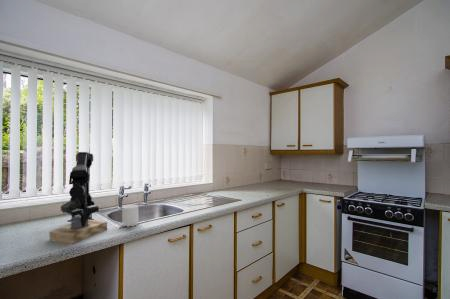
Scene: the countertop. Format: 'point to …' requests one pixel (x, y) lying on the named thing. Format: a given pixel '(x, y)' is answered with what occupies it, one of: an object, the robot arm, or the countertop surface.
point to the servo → (77, 222)
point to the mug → (130, 215)
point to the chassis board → (77, 232)
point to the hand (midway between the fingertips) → (80, 225)
